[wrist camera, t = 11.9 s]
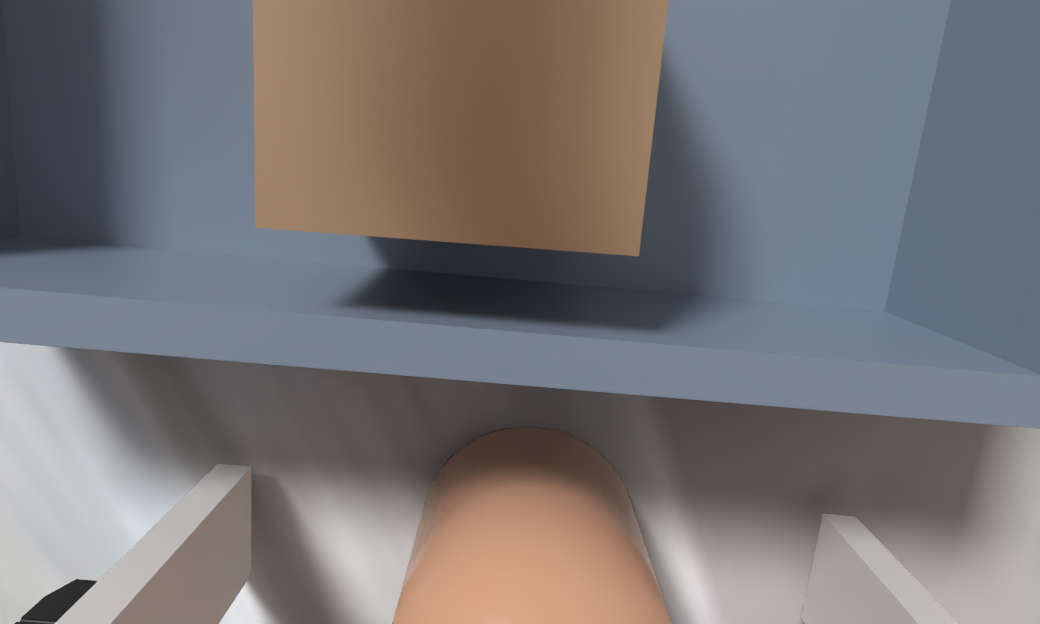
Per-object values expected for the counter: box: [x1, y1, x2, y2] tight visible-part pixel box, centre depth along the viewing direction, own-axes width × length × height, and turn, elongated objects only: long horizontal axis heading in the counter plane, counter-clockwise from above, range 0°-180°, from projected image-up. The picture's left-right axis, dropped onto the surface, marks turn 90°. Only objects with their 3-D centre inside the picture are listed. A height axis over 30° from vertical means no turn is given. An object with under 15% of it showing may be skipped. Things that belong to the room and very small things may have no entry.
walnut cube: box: [253, 0, 668, 256], centre depth 11 cm, size 5×5×5 cm
